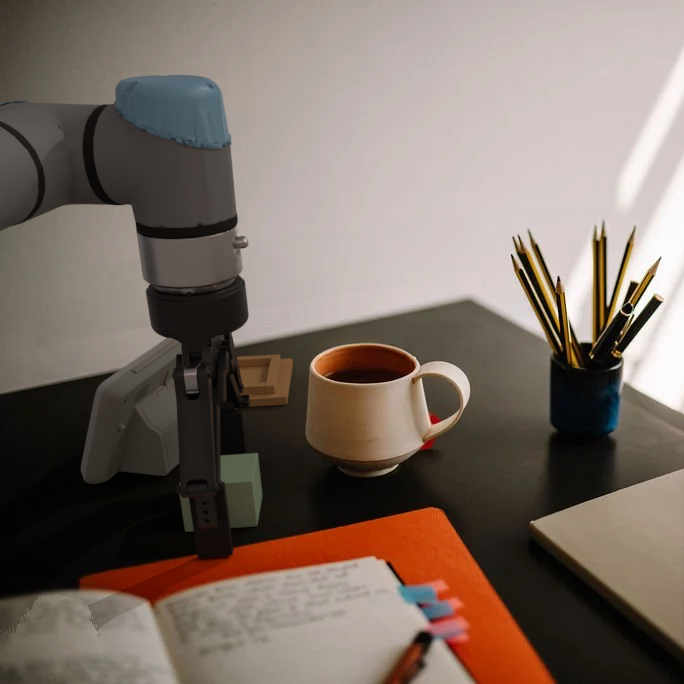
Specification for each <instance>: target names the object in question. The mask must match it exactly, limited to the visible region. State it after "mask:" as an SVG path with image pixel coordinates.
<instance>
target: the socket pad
mask: <svg viewBox="0 0 684 684" xmlns="http://www.w3.org/2000/svg"><path fill="white" fill-rule="evenodd" d="M237 360H238V365H239V369H240V374H241V379H242V383H243V384H244V389H243V392H242V393H240V395H249V397H250V406H249V407H248V408H255V407H269V406H270V407H271V406H286V405H288V402H289V400H288V399H289V395H290V388H291V383H292V382H291V380H292V376H293V375H292V374H293V368H294V360H293V358H292V357H291V358H281V354H265V355H264V354H263V355H262V354H261V355H245V356H244V355H243V356H237Z"/></svg>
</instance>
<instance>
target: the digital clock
mask: <svg viewBox="0 0 684 684" xmlns="http://www.w3.org/2000/svg"><path fill="white" fill-rule="evenodd" d="M177 354H182V351H181V343H180V342H179V341H177V340H175V339H172V338H166V337H165V338H164V339H163V340H162V341H160V342H159V343H157V344H155V345H154V346H153V347H151V348H150V349H148V350H146V351H145V352H144V353H142V354H141V355H140V356H138V357H137V358H135V359H134V360H132V361H131V362H129V363H128V364H126V365H125V366H124V367H122V368H121V369H118V371H115V373H113V374H112V375H110V376H109V377H108V378H106V379H104V380H103V381H102V382H101V383H100V384H99V385H98V387H96V391H95V394H94V398H93V404H92V407H91V412H90V416H89V417H90V418H89V424H88V428H87V432H86V439H85V444H84V449H83V453H82V459H81V464H80V473H81V476H82V478H83V481H84V482H85V483H86V484H89V485H98V484H103V483H106V482H108V481H109V480H110V479H112V478H113V477H114V476H115V475H116V474H118V473H119V472H121V473H122V472H123V473H130V474H131V473H132V474H140V475H150V476H157V477H158V476H159V477H166V476H167V475H169V473H171V472H172V471H173V470H174V469H175V468H176V467H177V466H178V465H179V445H178V424H177V404H176V393H175V385H174V379H173V377H172V373H173V371H174V368H176V355H177Z"/></svg>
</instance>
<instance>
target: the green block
mask: <svg viewBox="0 0 684 684" xmlns="http://www.w3.org/2000/svg"><path fill="white" fill-rule="evenodd" d="M220 459H221V480H222V482H225V490H226V497H227V505H228V513H229V521H230V528H231V529H240V528H251V527H257V526H258V525H259V519H260V512H261V507H262V501H263V487H262V480H261V478H262V477H261V470H260V460H259V453H258V452H252V453H248V454H236V455H222V456H220ZM178 485H180V483H179V484H178ZM179 501H180V507H181V513H182V521H183V526H184V527H183V528H184V532H185V533H189V532H190V533H191V532H194V530H193V523H192V516H191V510H190V503H189V498H182V497H181V494H179Z"/></svg>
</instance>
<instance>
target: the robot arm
mask: <svg viewBox="0 0 684 684" xmlns="http://www.w3.org/2000/svg"><path fill="white" fill-rule="evenodd" d="M114 89H115V91H114V92H115V95H114V96H115V100H114V102H113V103H108V104H107V103H104V104H85V103H84V104H83V103H60V102H59V103H57V102H56V103H54V102H29V100H17V99H14V100H11V101H6V102H0V232H2V231H5V230H6V229H8V228H11V227H15V226H17V225H21V224H23V223H25V222H28V221H30V220H33V219H35V218H37V217H40V216H42V215H45V214H47V213H49V212H51V211H53V210H56V209H59V208H61V207H65V206H72V205H93V206H94V205H98V206H99V205H101V206H125V205H126V206H128V205H129V206H130V207H131V209H132V214H133V218H134V222H135V231H136V238H137V246H138V253H139V259H140V266H141V274H142V279H143V280H144V281H145V282H146V283H147V284H148V286H147V288H146V289H145V296H146V301H147V302H146V303H147V308H148V315H149V322H150V327H151V329H152V330H153V332H154V333H156V334H157V335H159V336H161V337H163V338H165V339H166V338H172V339H175V340H177V341H179V342H180V343H181V351H182V354H177V355H176V368H174V371H173V373H172V377H173V379H174V385H175V393H176V404H177V424H178V445H179V464H178V465H179V484H180V485H179V484H175V493H176V494H177V495H180V494H181V497H182V498H189V503H190V510H191V516H192V523H193V530H194V531H193V535H194V543H195V550H196V556H197V559H198V558H203V559H211V558H210V557H214V558H218V557H217V556H225V557H228V556H227V555H232V554H233V555H234V545H233V537H232V528H230V521H229V513H228V505H227V497H226V490H225V482H222V480H221V459H220V456H222V455H236V454H249V453H248V445H247V436H246V430H245V429H246V427H245V421H244V413H243V409H238V408H250V407H249V406H250V397H249V395H240V393H242V392H243V389H244V384H243V383H242V379H241V374H240V369H239V365H238V360H237V357H238V356H237V351H236V346H235V342H234V337H233V333H234V332H235V331H238V330H239V329H241V328H242V327H243V326H244V325H246V323H247V322H248V319H249V317H250V315H249V305H248V296H247V288H246V286H247V285H246V280H245V278H244V277H242V276H241V275H240V274H241V273H242V271H243V269H244V267H243V259H242V249H246V248H247V247H249V239H248V238H247V236H245V235H239V236H238V232H239V231H240V230H239V225H238V223H239V218H238V216H239V215H238V212H237V204H236V203H237V202H236V192H235V191H236V189H235V181H234V180H235V179H234V171H233V169H234V168H233V159H232V148H231V147H232V135H231V134H230V132H229V126H228V120H227V114H226V108H225V103H224V97H223V92H222V90H221V88H220V87H219V85H218V84H217V83H216V82H215V81H214V80H213V79H211V78H209V77H206V76H201V75H191V74H169V75H157V74H153V75H141V76H131V77H127V78H124V79H120V80H119V82H117V84H116V86H115V88H114ZM233 555H232V556H233Z"/></svg>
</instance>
